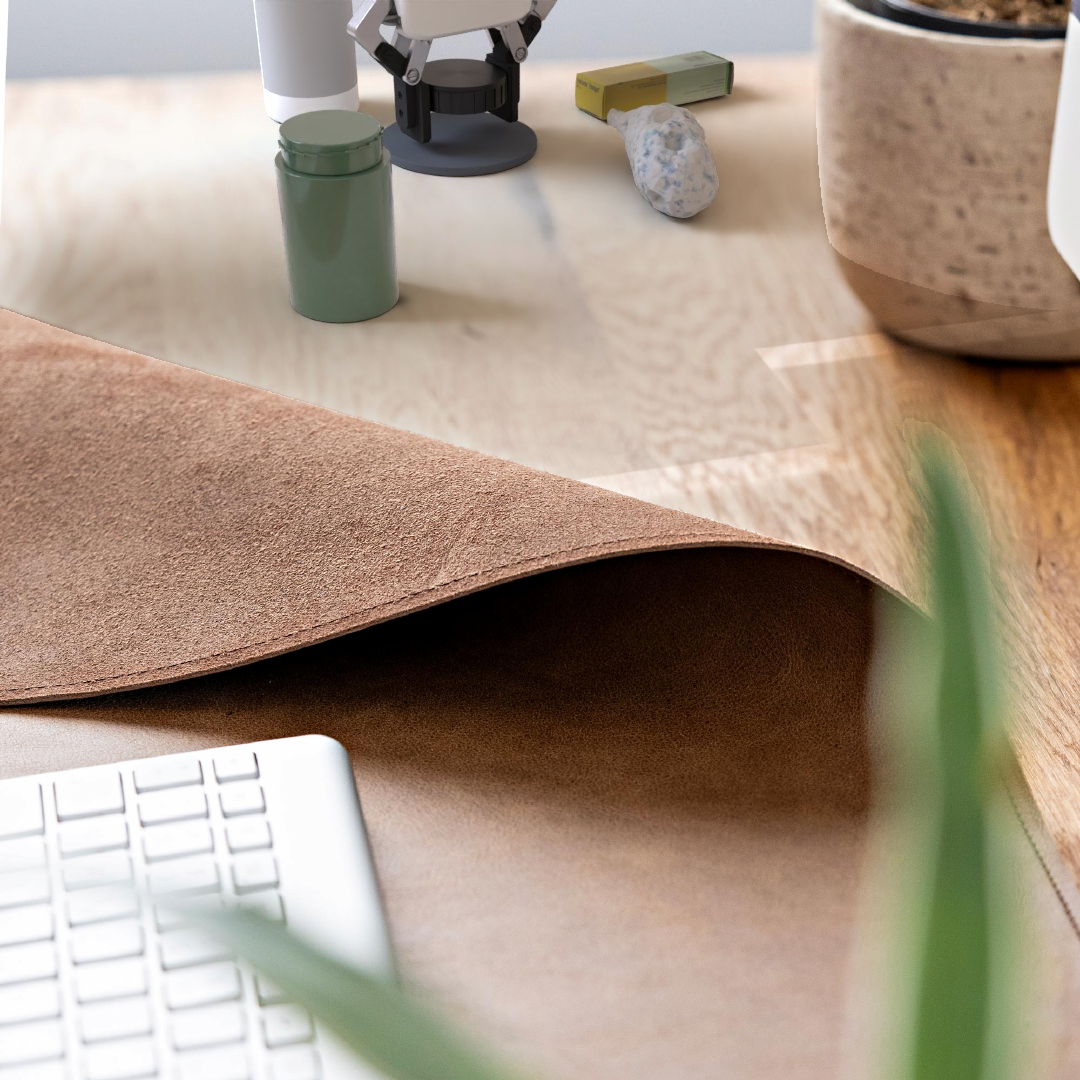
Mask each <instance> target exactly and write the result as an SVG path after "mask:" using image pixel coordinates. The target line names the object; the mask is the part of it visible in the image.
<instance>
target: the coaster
mask: <svg viewBox="0 0 1080 1080" xmlns="http://www.w3.org/2000/svg"><path fill="white" fill-rule="evenodd" d="M431 135H432V138H431V140H430V141H429V142H427V143H423V144H421V143H419V142H417V141H416V140H414V139H412V138H411V137H409V136H407V135H406V134H404V133H402V131H401V130H400V127H399V125H398V124H397V121H395V122H393V123H392V124H389V125H388V126H386V127H385V128H384V133H383V137H382V140H383V146H384V147H385V148H387V149H388V150H389V152H390V154H391V162H392V164H393V165H394V166H397V167H400V168H402V169H405V170H409V171H412V172H416V173H420V174H426V175H427V174H428V175H433V176H443V177H445V176H446V177H447V176H448V177H468V176H469V177H470V176H481V175H490V174H493V173H494V174H495V173H499V172H503V171H507V170H509V169H513V168H515V167H518V166H520V165H522V164H524V163H526V162H528V161H529V160H530V159H532V157H533V156H534V155H535V154H536V152H537V149H538V148H537V147H538V136H537V134H536V132H535V131H534V130H533V129H532V128H531V127H530V126H529V125H527V124H525V123H524V122H521V121H520V120H517V121H516V122H512V123H508V122H506V121H505V120H503V119H501V118H499V117H497V116H495V115H493V114H491V113H489V112H483V113H477V114H466V115H453V114H442V113H436V112H431Z"/></svg>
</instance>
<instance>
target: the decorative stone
mask: <svg viewBox="0 0 1080 1080" xmlns="http://www.w3.org/2000/svg"><path fill="white" fill-rule="evenodd" d="M606 122H607V124H608V125H609V126H612V127H613V128H614V129H616V130H617V131H618V132H619V135H620V136H621V137H622V140H623V145H624V150H625V152H626V155H627V158H628V161H629V164H630V165H629V166H630V168H631V172H632V175H633V181H634V184H635V186H636V188H637V189H638V191H639V192H640V194H641V195H642V196H643V197H644V198H645V200H646V201H647V202H648V204H649V205H650V206H651V207H652V208H653V209H655V210H657V211H659V212H660V213H663V214H665V215H667V216H669V217H675V218H681V219H687V218H691V217H693V216H695V215H697V214H698V213H699V212H701V211H703V210H705V209H706V208H708V207H709V206H710V205H711V203H712V202H713V200H715V198H716V195H717V193H718V191H719V187H720V180H719V176H718V172H717V166H716V162H715V160H714V157H713V153H712V151H711V149H710V147H709V145H708V144H707V142H706V132H705V129H704V127H703V126H702V125H701V123H699V122H698V120H697V118H696V116H694V114H693V113H692V112H691V111H690V110H689V109H687V108H685V107H681V106H678V105H671V104H669V103H661V104H658V105H646V106H642V107H639V108H637V109H633V110H630V111H628V112H624V111H620V110H616V109H614V108H612V109H611V110H610V111H609V113H608V115H607V119H606Z"/></svg>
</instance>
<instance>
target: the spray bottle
mask: <svg viewBox="0 0 1080 1080" xmlns="http://www.w3.org/2000/svg"><path fill="white" fill-rule="evenodd" d="M252 1H253V10H254V18H255V19H254V20H255V28H256V29H255V30H256V36H257V45H258V54H259V62H260V71H261V80H262V87H263V89H262V90H263V98H264V107H265V111H266V114H267V116H268V117H269V118H270V119H272V120H273V121H274V122H278V123H280V124H282V123H283V122H284V121H286V120H287V119H289V118H291V117H293V116H296V115H299V114H303V113H307V112H312V111H320V110H349V111H356V112H359V109H360V94H359V82H358V66H357V54H356V52H357V51H356V41H355V40H354V39H353V38H352V37H351V36H350V35H349V34H348V33H347V30H346V27H347V24H348V22H349V21H350V19H351V18H352V17H353V15H354V11H353V9H354V8H353V0H252Z"/></svg>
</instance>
